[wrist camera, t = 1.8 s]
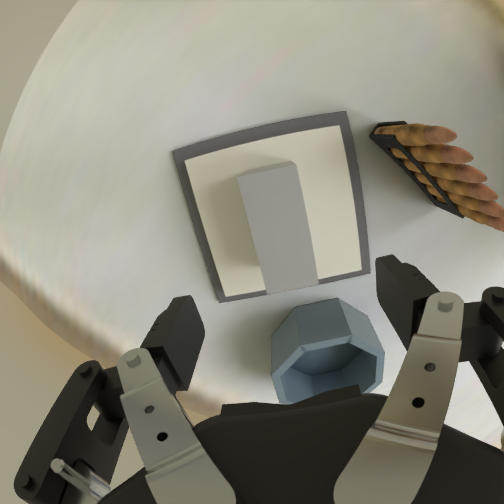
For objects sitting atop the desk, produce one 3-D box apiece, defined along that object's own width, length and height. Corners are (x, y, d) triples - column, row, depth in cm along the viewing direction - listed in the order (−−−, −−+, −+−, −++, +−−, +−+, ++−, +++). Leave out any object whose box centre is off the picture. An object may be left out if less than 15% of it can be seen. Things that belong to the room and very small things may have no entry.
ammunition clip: (446, 194, 23) (523, 228, 12) (437, 207, 24) (512, 248, 13) (378, 122, 22) (452, 112, 11) (368, 136, 22) (438, 134, 11)
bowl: (366, 291, 28) (386, 326, 22) (367, 363, 32) (380, 399, 26) (265, 312, 30) (263, 351, 24) (283, 380, 33) (284, 418, 28)
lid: (336, 126, 22) (356, 120, 16) (358, 264, 26) (378, 295, 21) (188, 159, 24) (163, 164, 18) (227, 290, 28) (217, 326, 23)
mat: (344, 111, 22) (346, 111, 21) (369, 271, 27) (370, 273, 27) (174, 150, 24) (172, 151, 24) (220, 300, 29) (219, 303, 29)
